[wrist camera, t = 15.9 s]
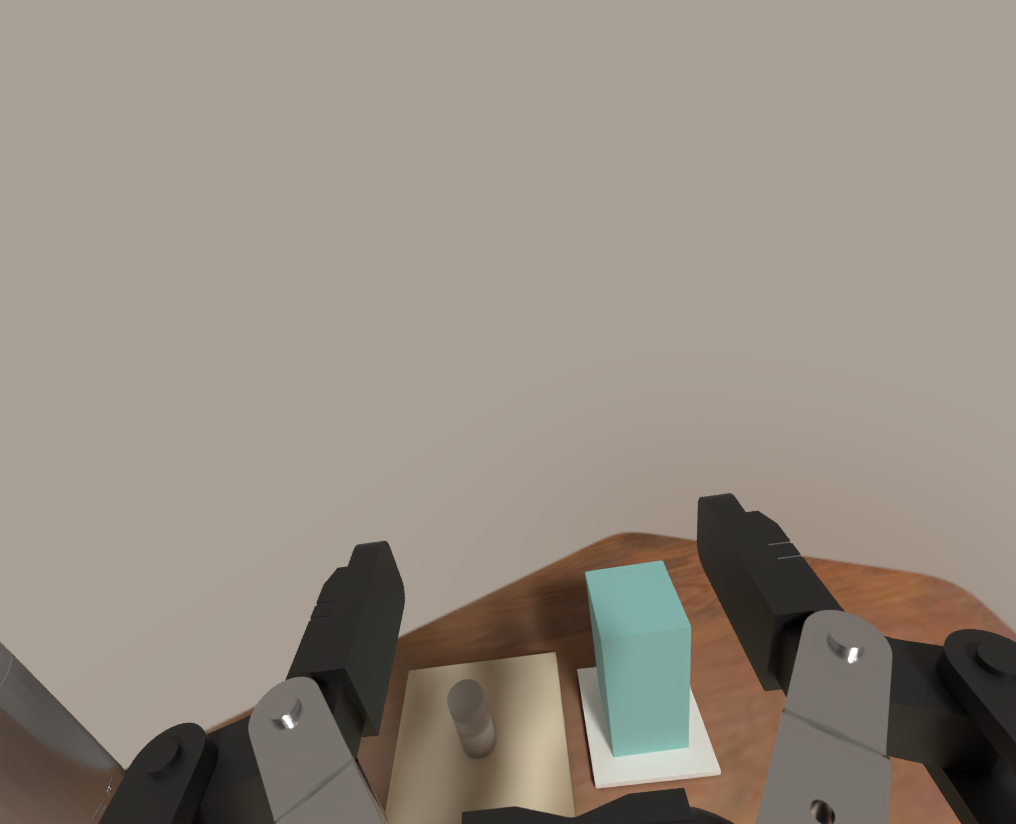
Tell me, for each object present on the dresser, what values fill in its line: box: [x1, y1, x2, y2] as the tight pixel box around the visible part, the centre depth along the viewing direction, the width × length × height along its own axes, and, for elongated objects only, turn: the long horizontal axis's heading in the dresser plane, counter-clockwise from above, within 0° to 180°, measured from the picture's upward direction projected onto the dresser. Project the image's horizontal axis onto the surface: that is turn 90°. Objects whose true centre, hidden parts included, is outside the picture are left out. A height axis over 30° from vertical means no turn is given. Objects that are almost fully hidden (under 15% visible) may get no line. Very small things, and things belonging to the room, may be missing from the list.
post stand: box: [385, 652, 576, 824], centre depth 33 cm, size 12×12×6 cm
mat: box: [577, 667, 721, 788], centre depth 35 cm, size 8×8×1 cm
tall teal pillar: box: [585, 561, 691, 757], centre depth 32 cm, size 5×5×12 cm
